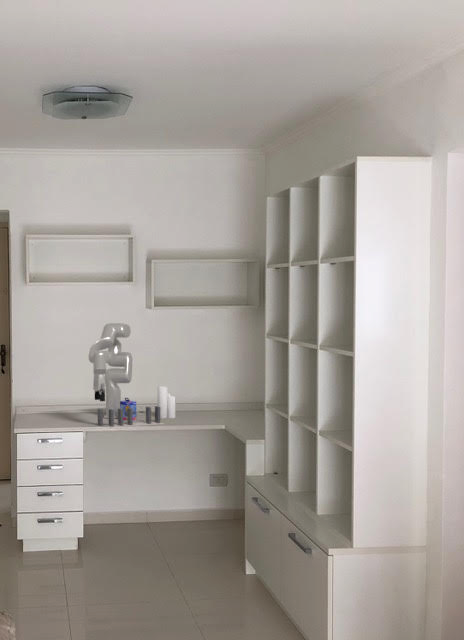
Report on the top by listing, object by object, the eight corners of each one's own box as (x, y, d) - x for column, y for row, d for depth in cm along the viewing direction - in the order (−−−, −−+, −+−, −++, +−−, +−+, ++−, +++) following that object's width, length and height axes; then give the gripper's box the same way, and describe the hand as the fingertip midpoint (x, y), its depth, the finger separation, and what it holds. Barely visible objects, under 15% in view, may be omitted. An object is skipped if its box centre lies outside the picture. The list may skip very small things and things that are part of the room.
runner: (104, 425, 576) (104, 424, 576) (157, 421, 591) (157, 421, 591) (110, 428, 565) (110, 427, 565) (165, 424, 580) (165, 423, 580)
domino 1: (100, 426, 572) (100, 409, 572) (97, 425, 577) (97, 408, 576) (102, 426, 573) (102, 409, 573) (100, 425, 577) (100, 408, 577)
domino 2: (111, 426, 569) (111, 410, 569) (108, 425, 573) (108, 409, 573) (113, 426, 570) (113, 409, 569) (111, 425, 574) (111, 408, 574)
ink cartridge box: (119, 420, 598) (119, 397, 598) (125, 419, 603) (125, 396, 602) (130, 421, 592) (130, 398, 592) (136, 420, 596) (136, 397, 596)
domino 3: (120, 425, 572) (120, 409, 571) (118, 424, 576) (117, 408, 576) (123, 425, 572) (123, 409, 572) (120, 424, 577) (120, 408, 576)
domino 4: (130, 425, 574) (130, 408, 574) (127, 424, 579) (127, 407, 578) (132, 425, 575) (132, 408, 575) (129, 424, 579) (129, 407, 579)
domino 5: (148, 423, 579) (148, 407, 579) (145, 422, 584) (145, 406, 584) (151, 423, 580) (151, 407, 580) (148, 422, 585) (148, 406, 584)
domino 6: (157, 423, 582) (157, 407, 582) (154, 422, 587) (154, 406, 586) (160, 423, 583) (160, 406, 582) (157, 422, 587) (157, 406, 587)
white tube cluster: (157, 418, 605) (157, 387, 604) (157, 417, 612) (157, 386, 611) (175, 418, 606) (175, 387, 605) (175, 416, 613) (175, 386, 612)
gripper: (89, 371, 580) (89, 399, 580) (98, 373, 564) (98, 402, 564) (101, 371, 583) (101, 398, 583) (110, 372, 567) (110, 401, 568)
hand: (99, 400), depth 574 cm, fingers open, 9 cm apart
